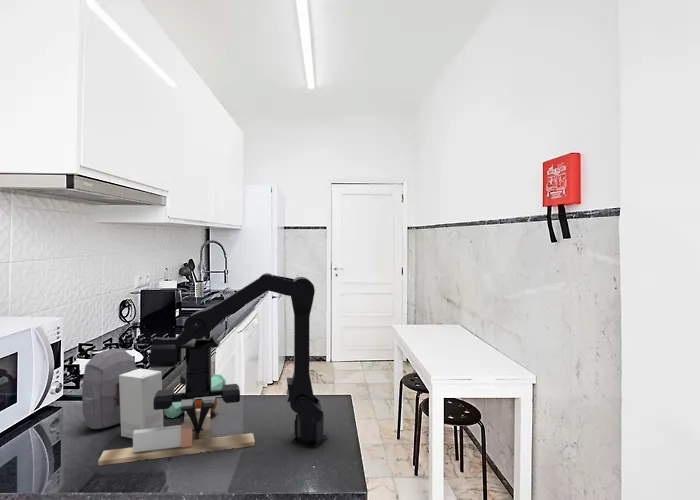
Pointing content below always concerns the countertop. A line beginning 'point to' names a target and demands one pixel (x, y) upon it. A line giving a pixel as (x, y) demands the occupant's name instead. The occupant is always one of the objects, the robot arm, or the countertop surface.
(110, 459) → the plank
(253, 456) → the countertop surface
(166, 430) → the white and pink block
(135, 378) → the skincare box
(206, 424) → the wooden block
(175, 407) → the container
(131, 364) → the soft grey pack
